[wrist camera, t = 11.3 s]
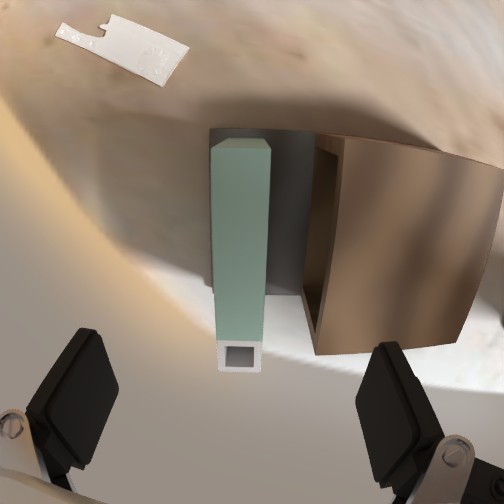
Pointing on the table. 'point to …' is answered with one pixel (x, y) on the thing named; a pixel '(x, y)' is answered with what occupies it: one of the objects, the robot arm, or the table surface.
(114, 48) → the white plastic blade
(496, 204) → the cabinet
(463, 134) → the table surface
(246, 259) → the green and grey box
